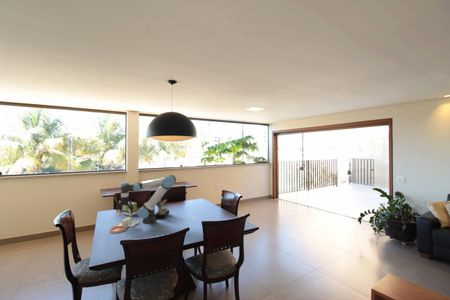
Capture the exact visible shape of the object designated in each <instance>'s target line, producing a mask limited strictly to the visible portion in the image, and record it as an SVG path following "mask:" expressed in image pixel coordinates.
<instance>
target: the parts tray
mask: <svg viewBox="0 0 450 300" xmlns="http://www.w3.org/2000/svg"><path fill="white" fill-rule="evenodd" d="M139 223H140V221H138V220H137V221H136V220H134V221H133V220H131V223H130V224H128V225H127V226H126V228H134V227H135V226H137V225H138V224H139ZM115 226H122V220H120V221H119V222H118V223H115V224H114V225H112V227H115Z"/></svg>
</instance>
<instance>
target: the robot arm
mask: <svg viewBox="0 0 450 300" xmlns="http://www.w3.org/2000/svg"><path fill="white" fill-rule="evenodd" d="M176 182H177V177H176V176H175V175H173V174H169V175H167V176H164V177H161V178H156V179H151V180H145V181H138V182H136V183H134V184H133V183H132V184H129V182H127V181H123V182H121V185H120V200H117V204H116V206H115V209H114V210H116V213H117V214H116V215H117V217H119V216H120V213H121V212H120V208H122V207H123V206H122V205H126V206H128V208H129V209H130V216H129V217H132V216H133V215H132V210H133V209H134V207H133V205H132V203H131V202H132V201H131V200H129V199H130V198H129V193H130V192H139V191H140V190H142V189H147V188H152V187H153V188H154V187H156V186H157V187H158V186H159V187H158V188H157V190H156V191H155V192H154V194H153V195H152V196H151V197H150V198H149V200H148V201H147V202H144V204H143V205H142V206H141V207H140V208H138V209H139V210H138V211H137V215H138V217H139V218H141V219H142V224H144V225H154V224H156V223H157V218H155V214H156V210H155V209H156V208H155V207H156V204H157V202H158V201H159V200H160V199H161V200H162V198H163V196H164V195H165V193H166V192H167V191H170V189H171V188H172V187H173V186H174V185H175V184H176ZM128 202H129V204H130V205H129V204H128Z"/></svg>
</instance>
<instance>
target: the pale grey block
mask: <svg viewBox="0 0 450 300" xmlns="http://www.w3.org/2000/svg"><path fill="white" fill-rule="evenodd" d="M125 219H126V218H124V219H123V220H121V221H122V226H127V225H128V220H125Z"/></svg>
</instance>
